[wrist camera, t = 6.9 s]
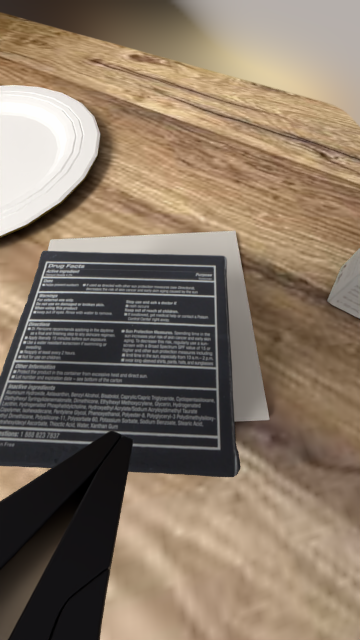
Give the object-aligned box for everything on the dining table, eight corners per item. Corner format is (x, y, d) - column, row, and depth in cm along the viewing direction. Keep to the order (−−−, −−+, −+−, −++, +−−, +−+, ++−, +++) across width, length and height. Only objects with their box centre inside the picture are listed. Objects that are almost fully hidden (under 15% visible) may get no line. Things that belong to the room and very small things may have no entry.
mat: (267, 420, 16) (269, 419, 15) (9, 431, 16) (3, 431, 15) (234, 234, 22) (235, 230, 22) (53, 243, 22) (50, 239, 22)
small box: (218, 459, 15) (216, 306, 19) (243, 483, 9) (231, 250, 13) (47, 450, 15) (83, 301, 19) (-43, 466, 9) (38, 244, 13)
